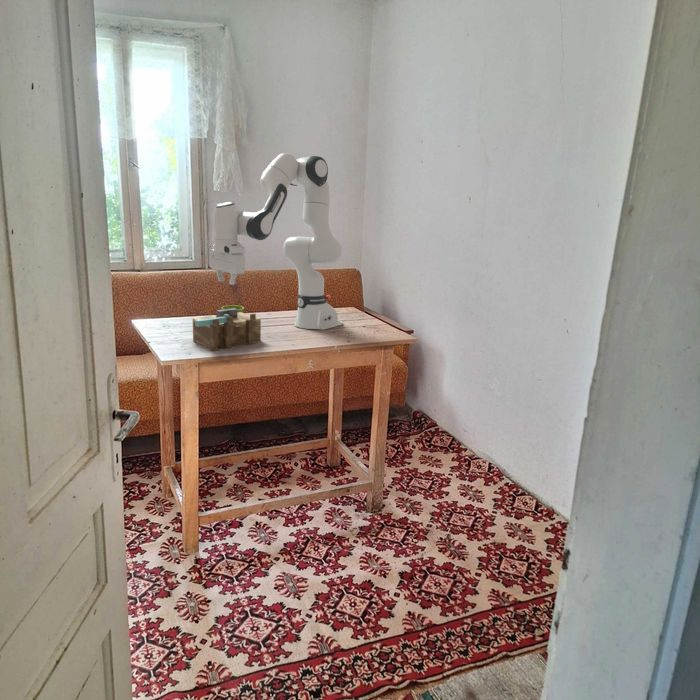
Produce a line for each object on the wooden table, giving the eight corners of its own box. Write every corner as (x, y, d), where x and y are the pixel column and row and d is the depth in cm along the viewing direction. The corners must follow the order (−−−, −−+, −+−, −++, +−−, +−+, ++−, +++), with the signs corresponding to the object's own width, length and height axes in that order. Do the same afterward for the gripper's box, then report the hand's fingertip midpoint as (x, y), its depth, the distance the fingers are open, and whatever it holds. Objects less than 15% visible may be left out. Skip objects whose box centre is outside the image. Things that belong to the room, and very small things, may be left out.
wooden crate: (241, 333, 249) (240, 304, 245) (266, 342, 236) (266, 312, 233) (190, 341, 233) (189, 310, 230) (214, 351, 221) (214, 319, 218)
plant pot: (244, 329, 255) (244, 309, 253) (221, 329, 253) (221, 309, 251) (243, 324, 264) (243, 305, 261) (221, 324, 262) (221, 305, 260)
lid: (241, 316, 247) (240, 303, 245) (265, 324, 235) (265, 311, 234) (192, 323, 232) (192, 309, 231) (215, 332, 220) (215, 318, 219)
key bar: (226, 321, 226) (226, 313, 225) (229, 322, 224) (229, 315, 223) (194, 325, 217) (194, 318, 216) (198, 326, 215) (197, 319, 214)
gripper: (204, 244, 232) (205, 279, 235) (233, 249, 217) (233, 287, 221) (218, 243, 236) (219, 278, 240) (247, 249, 222) (248, 286, 225)
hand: (226, 282), depth 230 cm, fingers open, 6 cm apart
